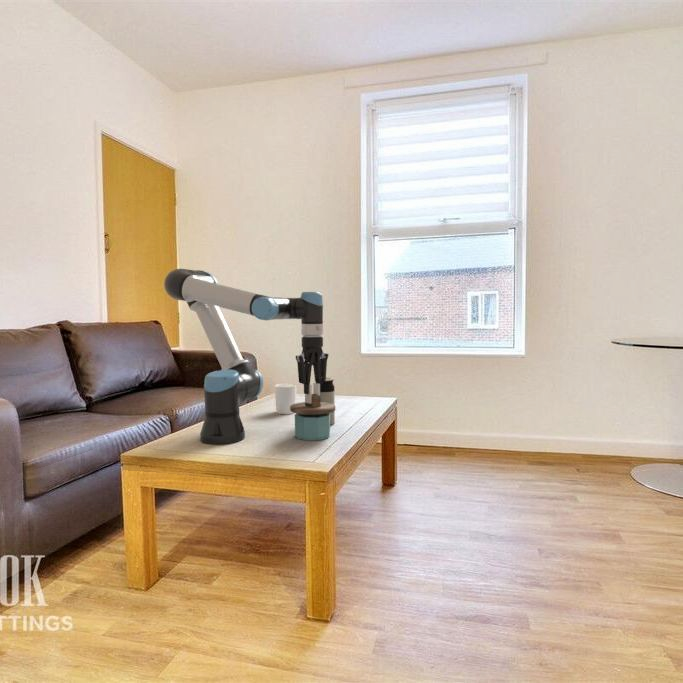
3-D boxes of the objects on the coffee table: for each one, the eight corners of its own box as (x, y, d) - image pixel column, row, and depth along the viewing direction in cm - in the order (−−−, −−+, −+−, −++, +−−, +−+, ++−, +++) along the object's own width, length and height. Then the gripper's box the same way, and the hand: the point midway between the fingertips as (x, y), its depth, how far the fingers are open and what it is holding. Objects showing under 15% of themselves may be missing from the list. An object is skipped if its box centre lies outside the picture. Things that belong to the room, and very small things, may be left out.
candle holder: (298, 409, 211) (298, 383, 210) (295, 414, 201) (295, 387, 200) (276, 409, 211) (276, 383, 210) (272, 414, 201) (272, 386, 201)
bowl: (289, 435, 168) (288, 413, 167) (315, 429, 176) (314, 408, 175) (310, 442, 159) (310, 419, 158) (336, 436, 167) (336, 414, 167)
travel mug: (334, 426, 182) (334, 379, 180) (313, 426, 182) (313, 379, 181) (334, 421, 190) (334, 376, 188) (315, 421, 190) (314, 376, 189)
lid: (281, 409, 167) (280, 394, 167) (315, 403, 178) (315, 389, 178) (309, 416, 156) (309, 401, 155) (344, 409, 166) (344, 395, 166)
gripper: (300, 337, 157) (301, 407, 158) (336, 335, 168) (336, 400, 169) (287, 336, 162) (287, 403, 164) (322, 334, 173) (323, 397, 175)
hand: (312, 402), depth 167 cm, fingers closed on lid, 3 cm apart
